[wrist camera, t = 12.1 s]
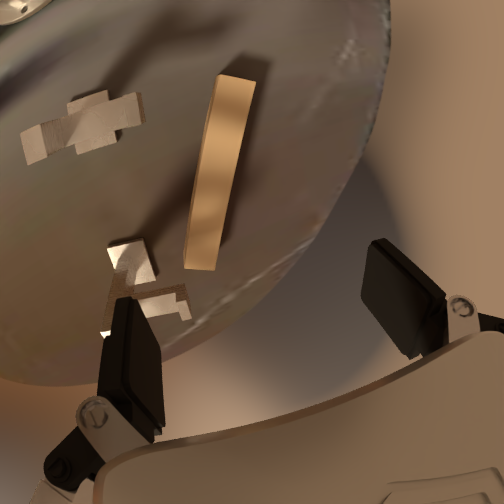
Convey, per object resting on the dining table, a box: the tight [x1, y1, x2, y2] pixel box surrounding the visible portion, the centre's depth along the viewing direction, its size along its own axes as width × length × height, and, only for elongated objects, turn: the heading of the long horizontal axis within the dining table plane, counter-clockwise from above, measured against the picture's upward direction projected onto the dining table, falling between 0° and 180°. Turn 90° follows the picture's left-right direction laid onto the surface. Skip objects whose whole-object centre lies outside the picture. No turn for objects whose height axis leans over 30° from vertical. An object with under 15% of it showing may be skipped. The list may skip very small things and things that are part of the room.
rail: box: [184, 74, 256, 270], centre depth 25 cm, size 18×3×3 cm, turn 167°
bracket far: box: [100, 238, 192, 338], centre depth 24 cm, size 5×8×11 cm, turn 96°
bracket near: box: [20, 90, 146, 165], centre depth 16 cm, size 5×8×11 cm, turn 96°
